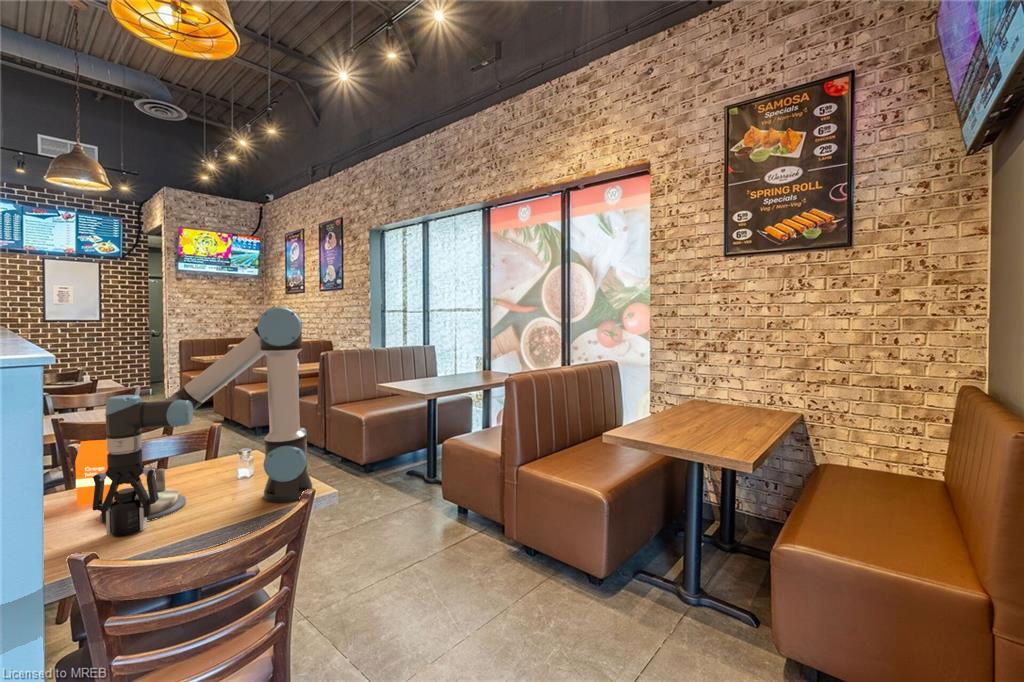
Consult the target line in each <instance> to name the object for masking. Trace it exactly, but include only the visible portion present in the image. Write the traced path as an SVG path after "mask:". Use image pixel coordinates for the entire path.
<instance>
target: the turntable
mask: <svg viewBox="0 0 1024 682" xmlns="http://www.w3.org/2000/svg"><path fill="white" fill-rule="evenodd" d="M165 470H166V469H165V468H158V469H157V468H156V472H155V480H156V486H157V492H158V500H157V501H156V502H155V503H154V504H151V505H150V506H151V514H153V513H156V512H159V511H162V510H165V509H167V508H169V507H171V506H173V505H175V504H176V503H177V502H178V495H179V492H178V490H176V489H174V488H167V487H166V473H165ZM145 490H146V492H147V494H148V496H149V491H148V489H145ZM136 497H138V496H136ZM149 498H150V497H149ZM114 501H115V500H114V499H113V501H112V503H113V502H114ZM112 503H111V504H112ZM109 509H110V508H109Z"/></svg>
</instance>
